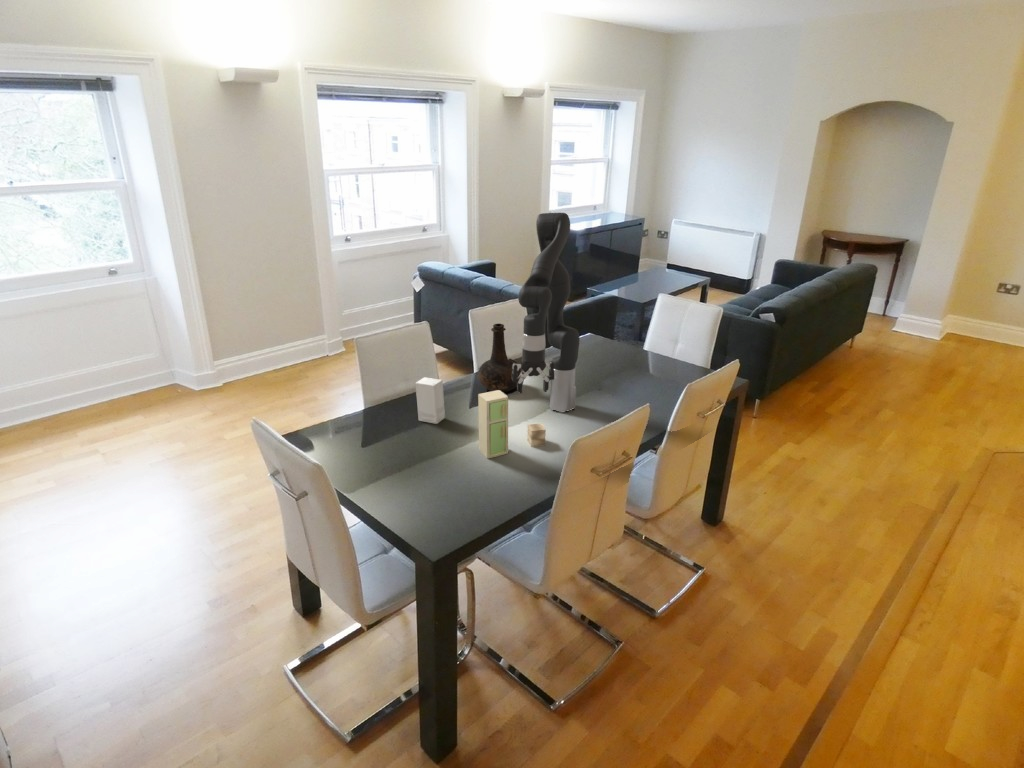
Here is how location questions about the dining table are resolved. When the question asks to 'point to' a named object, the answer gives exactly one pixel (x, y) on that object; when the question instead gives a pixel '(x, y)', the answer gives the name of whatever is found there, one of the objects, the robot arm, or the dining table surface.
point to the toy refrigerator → (493, 423)
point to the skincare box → (430, 400)
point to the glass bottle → (498, 365)
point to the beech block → (536, 435)
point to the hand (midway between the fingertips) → (532, 392)
